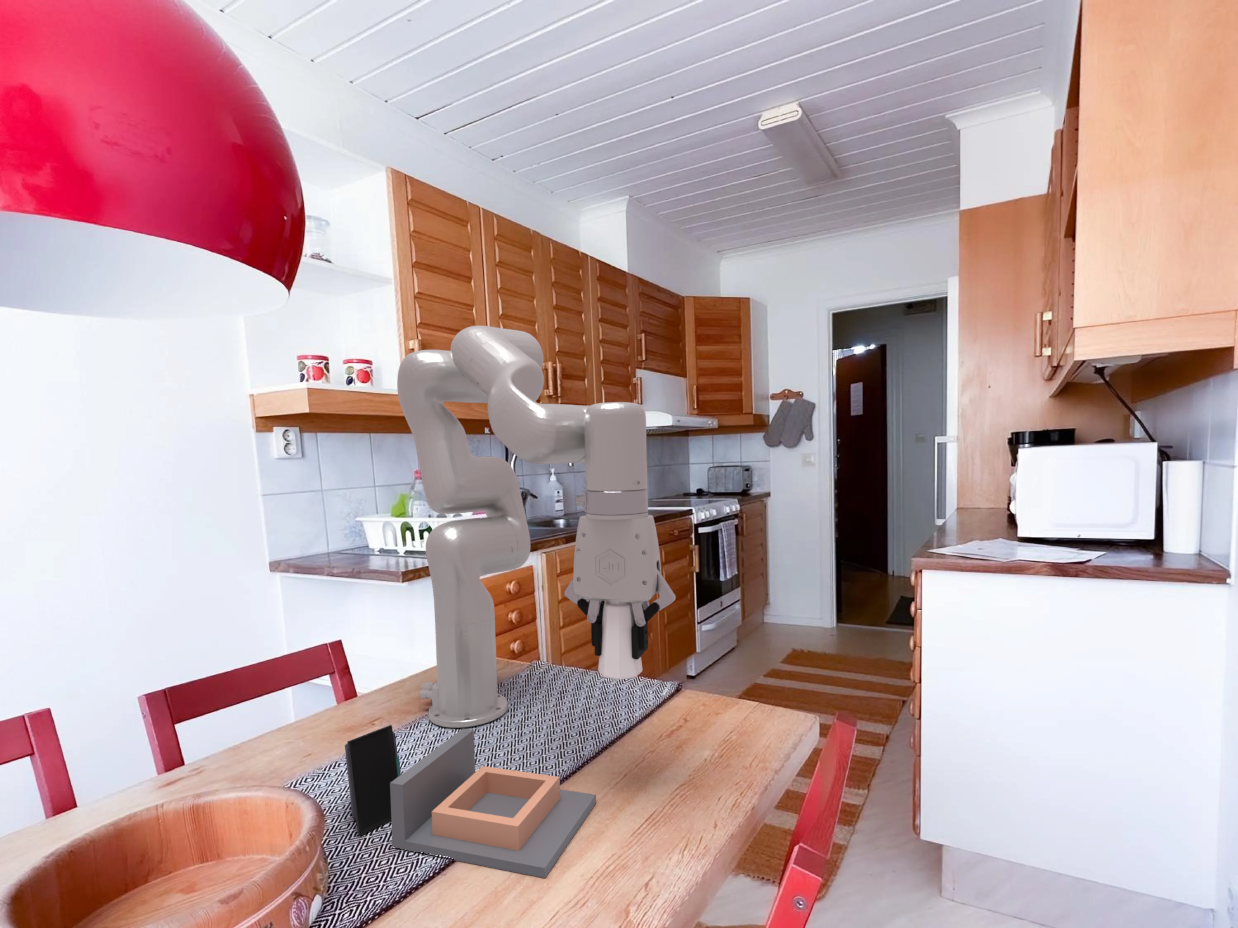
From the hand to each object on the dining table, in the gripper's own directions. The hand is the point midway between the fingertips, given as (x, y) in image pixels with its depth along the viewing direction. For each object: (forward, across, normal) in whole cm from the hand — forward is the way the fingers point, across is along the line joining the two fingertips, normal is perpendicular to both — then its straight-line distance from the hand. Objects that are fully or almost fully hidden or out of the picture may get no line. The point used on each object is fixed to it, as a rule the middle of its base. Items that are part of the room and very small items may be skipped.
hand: (620, 652), depth 77 cm
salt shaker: (+3, 0, 0) cm, 3 cm away
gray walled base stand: (+17, -11, -10) cm, 23 cm away
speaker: (+18, -27, -12) cm, 35 cm away
